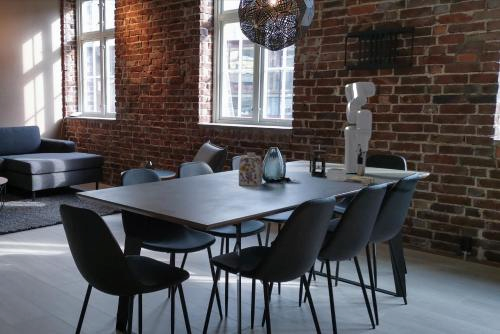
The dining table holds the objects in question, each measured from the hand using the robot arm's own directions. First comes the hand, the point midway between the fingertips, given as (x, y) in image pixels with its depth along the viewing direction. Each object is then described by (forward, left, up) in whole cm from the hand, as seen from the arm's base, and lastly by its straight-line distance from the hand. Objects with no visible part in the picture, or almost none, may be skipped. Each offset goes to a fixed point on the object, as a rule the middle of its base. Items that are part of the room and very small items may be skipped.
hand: (361, 163), depth 297 cm
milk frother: (+19, -42, -12) cm, 48 cm away
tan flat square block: (0, 0, -12) cm, 12 cm away
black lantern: (-6, -30, -12) cm, 33 cm away
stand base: (0, -15, -12) cm, 19 cm away
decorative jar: (+43, -49, -12) cm, 66 cm away
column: (0, 0, -7) cm, 7 cm away
